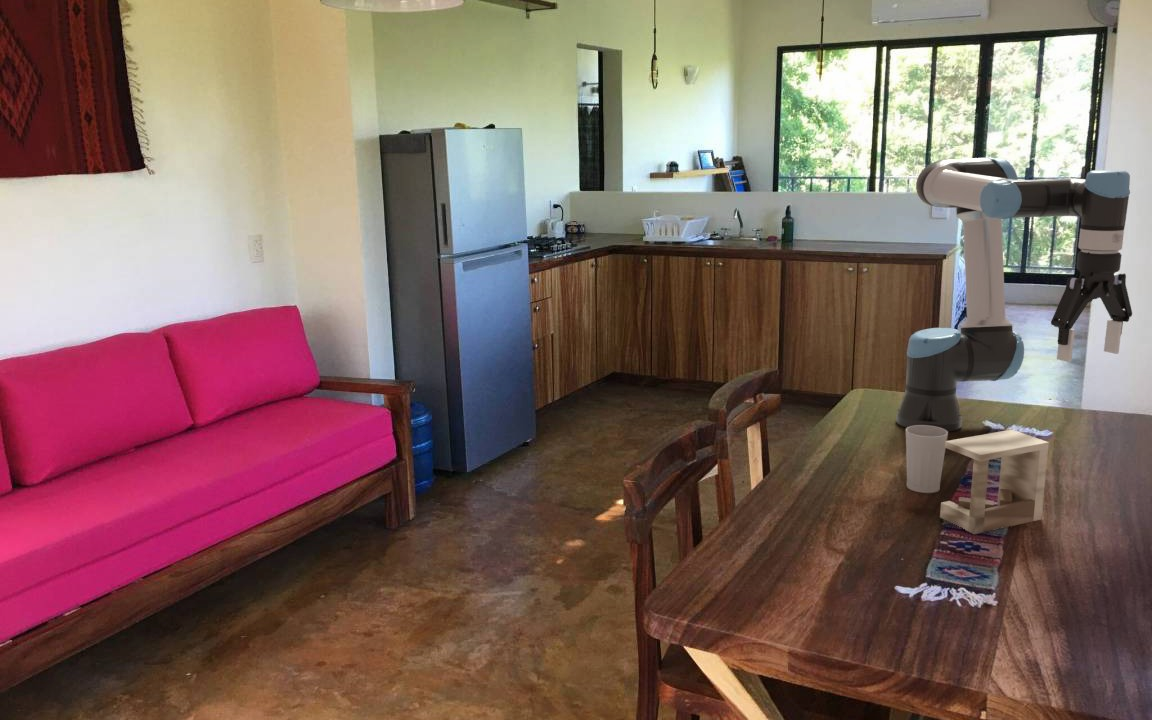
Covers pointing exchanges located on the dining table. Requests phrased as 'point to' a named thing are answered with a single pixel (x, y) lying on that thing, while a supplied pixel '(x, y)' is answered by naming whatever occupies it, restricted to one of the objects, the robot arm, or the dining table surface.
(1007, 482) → the shelf
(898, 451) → the dining table surface
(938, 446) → the cup
